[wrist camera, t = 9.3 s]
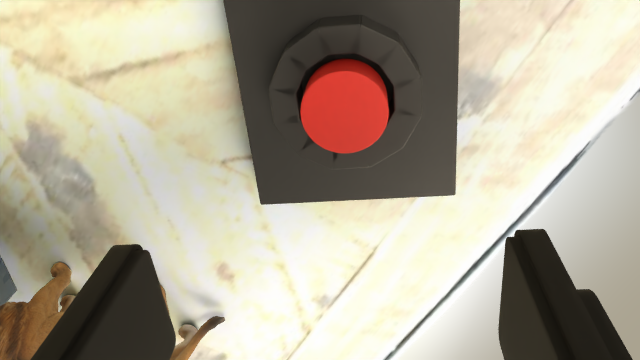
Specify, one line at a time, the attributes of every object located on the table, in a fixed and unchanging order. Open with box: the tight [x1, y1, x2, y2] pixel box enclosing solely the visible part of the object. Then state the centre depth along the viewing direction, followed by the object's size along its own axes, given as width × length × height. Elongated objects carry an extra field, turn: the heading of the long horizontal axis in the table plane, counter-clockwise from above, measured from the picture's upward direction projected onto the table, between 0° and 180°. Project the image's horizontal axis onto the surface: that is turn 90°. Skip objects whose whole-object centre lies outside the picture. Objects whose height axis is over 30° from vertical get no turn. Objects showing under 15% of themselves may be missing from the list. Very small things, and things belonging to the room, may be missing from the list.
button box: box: [223, 0, 460, 204], centre depth 24 cm, size 12×10×4 cm
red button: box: [300, 59, 389, 153], centre depth 22 cm, size 4×4×2 cm
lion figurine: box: [0, 262, 225, 360], centre depth 30 cm, size 15×5×9 cm, turn 85°
